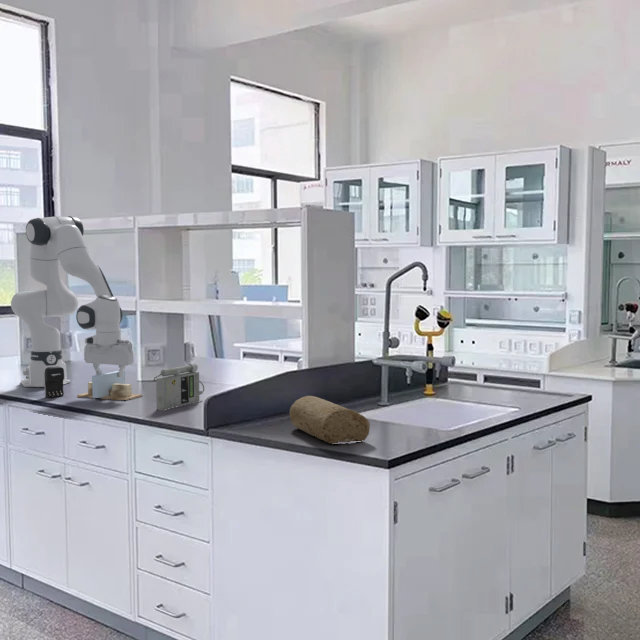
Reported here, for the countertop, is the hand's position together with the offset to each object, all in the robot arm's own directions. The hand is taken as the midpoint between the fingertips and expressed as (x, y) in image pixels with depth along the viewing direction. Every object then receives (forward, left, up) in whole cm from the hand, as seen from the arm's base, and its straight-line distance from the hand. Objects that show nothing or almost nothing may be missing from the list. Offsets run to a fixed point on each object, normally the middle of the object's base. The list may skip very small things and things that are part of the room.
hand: (109, 376), depth 279 cm
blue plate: (0, 0, -7) cm, 7 cm away
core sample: (+102, +23, -8) cm, 105 cm away
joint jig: (0, 0, -8) cm, 8 cm away
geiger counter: (+31, +14, -8) cm, 35 cm away
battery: (-13, -16, -8) cm, 22 cm away
